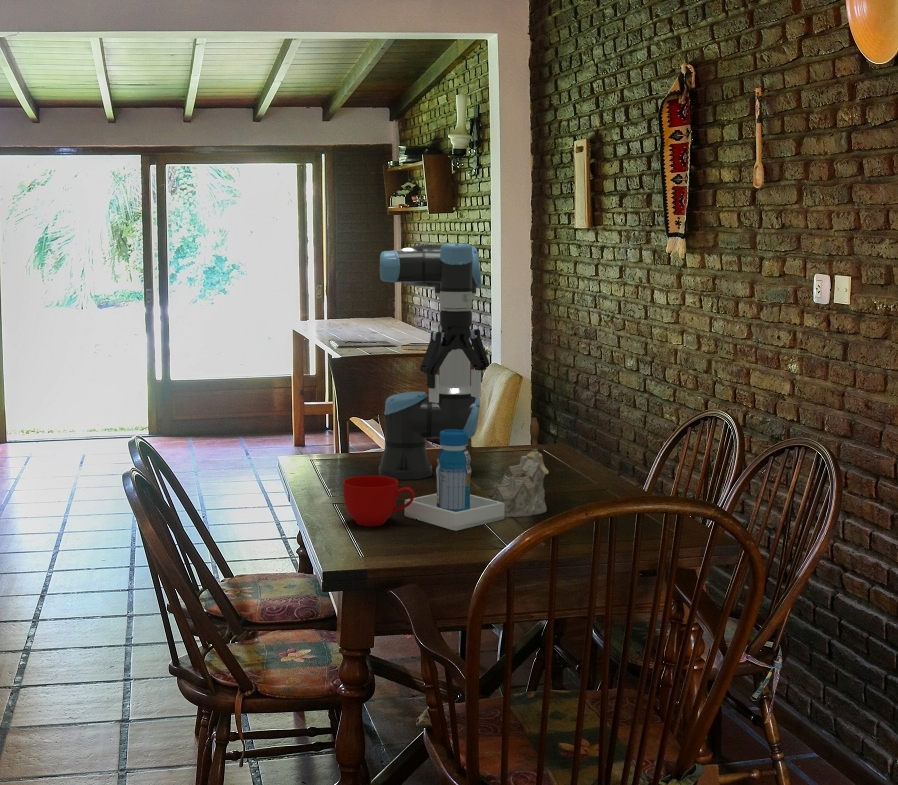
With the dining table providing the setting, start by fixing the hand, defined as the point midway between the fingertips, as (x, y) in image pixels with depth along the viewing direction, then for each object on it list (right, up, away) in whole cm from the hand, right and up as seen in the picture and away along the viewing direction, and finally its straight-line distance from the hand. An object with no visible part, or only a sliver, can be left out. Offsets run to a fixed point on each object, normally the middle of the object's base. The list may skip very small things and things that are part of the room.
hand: (455, 399), depth 261 cm
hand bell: (+23, -22, +56) cm, 65 cm away
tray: (0, -28, +4) cm, 29 cm away
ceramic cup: (-18, -29, -2) cm, 34 cm away
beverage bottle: (0, -28, +4) cm, 28 cm away
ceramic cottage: (+15, -28, +14) cm, 34 cm away
